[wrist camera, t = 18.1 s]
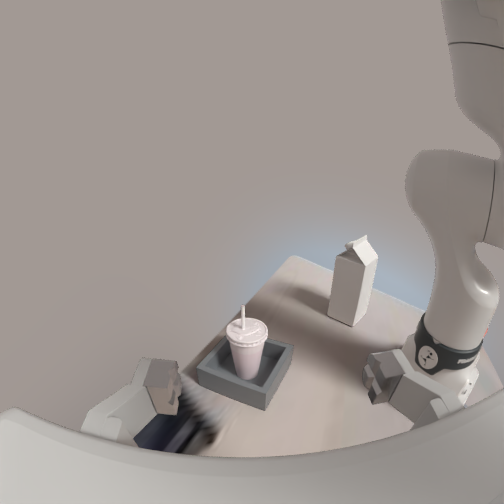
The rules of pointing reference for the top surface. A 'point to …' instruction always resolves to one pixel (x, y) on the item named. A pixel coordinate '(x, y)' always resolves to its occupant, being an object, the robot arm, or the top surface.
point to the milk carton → (352, 282)
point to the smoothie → (246, 344)
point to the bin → (246, 391)
